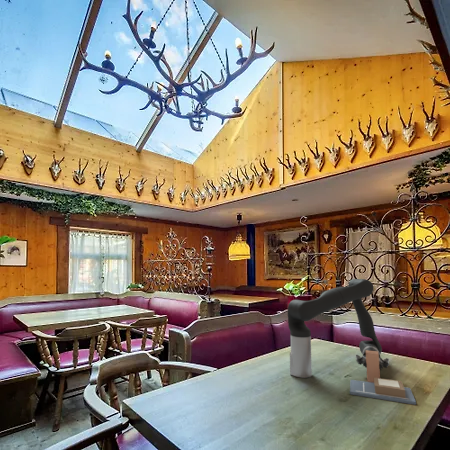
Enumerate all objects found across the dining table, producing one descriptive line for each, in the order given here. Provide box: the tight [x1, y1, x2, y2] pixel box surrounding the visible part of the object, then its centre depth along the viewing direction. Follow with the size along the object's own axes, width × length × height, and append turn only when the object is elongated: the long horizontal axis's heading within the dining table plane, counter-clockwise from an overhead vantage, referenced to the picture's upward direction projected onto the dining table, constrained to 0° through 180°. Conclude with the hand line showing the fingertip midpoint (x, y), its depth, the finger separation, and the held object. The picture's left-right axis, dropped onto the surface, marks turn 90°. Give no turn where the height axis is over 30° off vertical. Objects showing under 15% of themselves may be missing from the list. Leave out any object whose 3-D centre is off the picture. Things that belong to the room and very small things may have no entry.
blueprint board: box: [349, 377, 417, 406], centre depth 120 cm, size 22×14×4 cm, turn 66°
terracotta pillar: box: [366, 350, 381, 383], centre depth 132 cm, size 5×5×12 cm
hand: (372, 365), depth 130 cm, fingers closed on terracotta pillar, 5 cm apart
